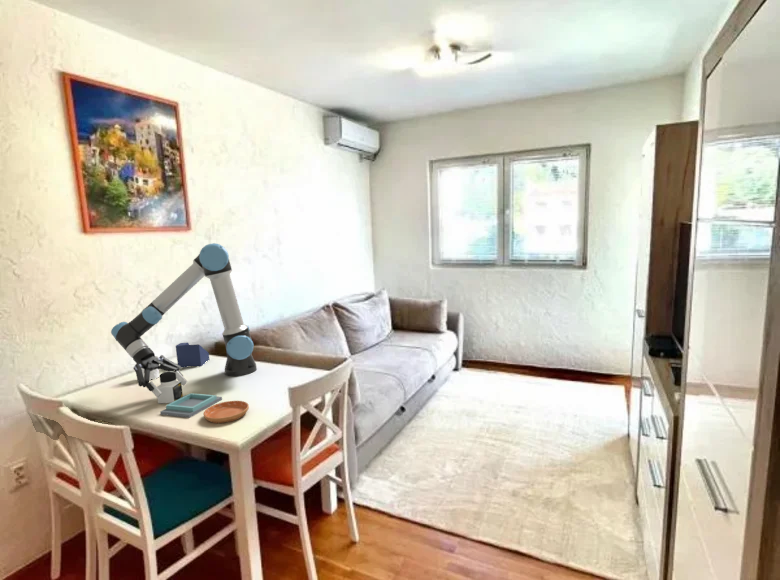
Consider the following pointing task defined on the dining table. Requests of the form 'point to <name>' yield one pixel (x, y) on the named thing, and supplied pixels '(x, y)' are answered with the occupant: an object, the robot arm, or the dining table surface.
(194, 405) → the dock
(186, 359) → the blue wedge block
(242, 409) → the saucer
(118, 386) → the dining table surface
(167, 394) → the medicine bottle
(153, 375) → the white cup
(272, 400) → the dining table surface
